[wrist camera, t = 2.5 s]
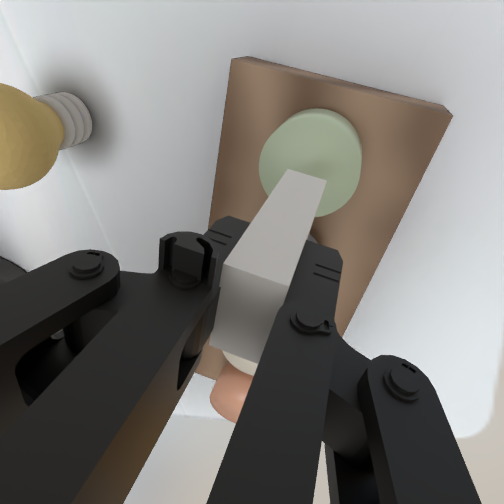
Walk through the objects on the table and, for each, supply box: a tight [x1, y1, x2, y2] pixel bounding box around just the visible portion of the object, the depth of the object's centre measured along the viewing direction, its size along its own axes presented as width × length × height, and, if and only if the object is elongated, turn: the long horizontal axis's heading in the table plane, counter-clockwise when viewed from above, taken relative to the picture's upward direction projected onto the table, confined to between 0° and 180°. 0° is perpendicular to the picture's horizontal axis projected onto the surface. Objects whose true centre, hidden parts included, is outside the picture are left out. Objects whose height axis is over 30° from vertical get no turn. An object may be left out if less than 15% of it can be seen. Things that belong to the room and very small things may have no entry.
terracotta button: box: [210, 363, 254, 423], centre depth 30 cm, size 5×5×3 cm
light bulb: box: [0, 83, 92, 190], centre depth 23 cm, size 6×6×10 cm
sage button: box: [259, 108, 362, 217], centre depth 18 cm, size 5×5×3 cm
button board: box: [195, 56, 453, 381], centre depth 27 cm, size 12×28×3 cm, turn 168°
